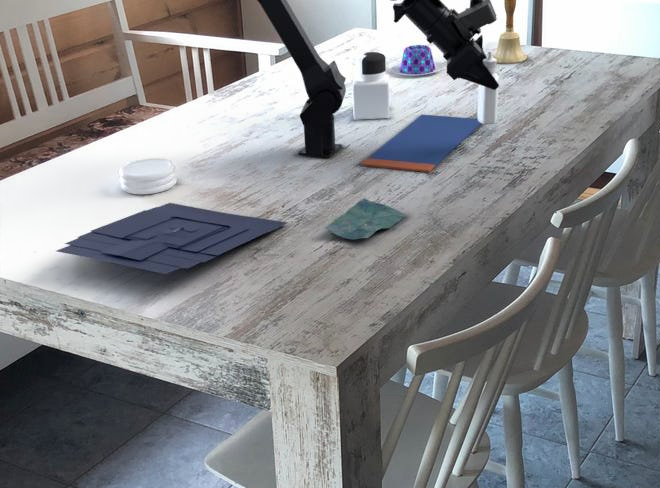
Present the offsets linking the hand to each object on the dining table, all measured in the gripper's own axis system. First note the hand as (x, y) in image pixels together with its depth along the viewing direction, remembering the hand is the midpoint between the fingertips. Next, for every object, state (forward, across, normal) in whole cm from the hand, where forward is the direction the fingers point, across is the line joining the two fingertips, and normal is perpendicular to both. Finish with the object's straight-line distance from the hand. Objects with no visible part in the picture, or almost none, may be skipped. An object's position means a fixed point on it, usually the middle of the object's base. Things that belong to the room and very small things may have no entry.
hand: (496, 83), depth 183 cm
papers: (-26, -45, +44) cm, 68 cm away
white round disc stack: (-34, -16, +52) cm, 64 cm away
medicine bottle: (-8, +23, +26) cm, 35 cm away
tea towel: (0, +4, +17) cm, 18 cm away
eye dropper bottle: (+4, 0, +6) cm, 7 cm away
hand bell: (+12, +63, +5) cm, 64 cm away
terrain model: (-6, -37, +23) cm, 44 cm away
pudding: (-3, +55, +20) cm, 58 cm away
